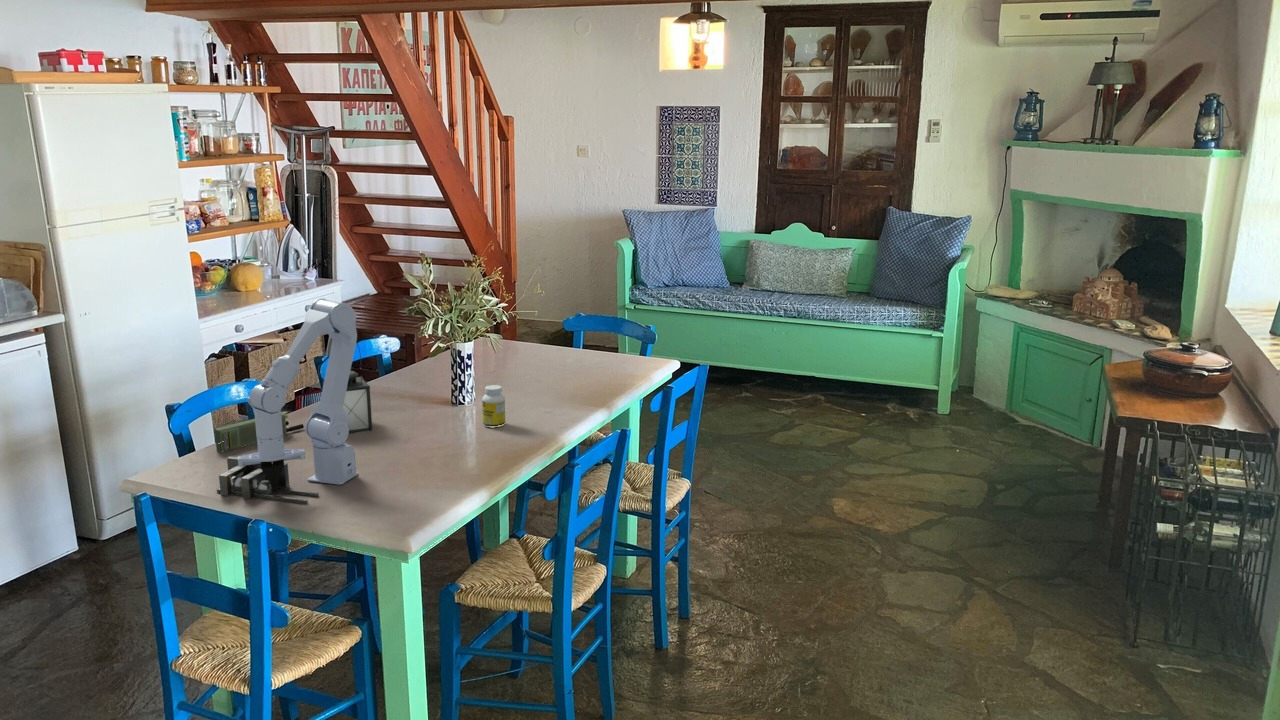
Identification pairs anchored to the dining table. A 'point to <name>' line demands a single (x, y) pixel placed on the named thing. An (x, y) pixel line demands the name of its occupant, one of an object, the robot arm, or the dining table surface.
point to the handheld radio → (244, 433)
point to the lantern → (357, 403)
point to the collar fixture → (255, 472)
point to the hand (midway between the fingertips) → (274, 490)
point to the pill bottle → (493, 406)
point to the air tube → (258, 485)
